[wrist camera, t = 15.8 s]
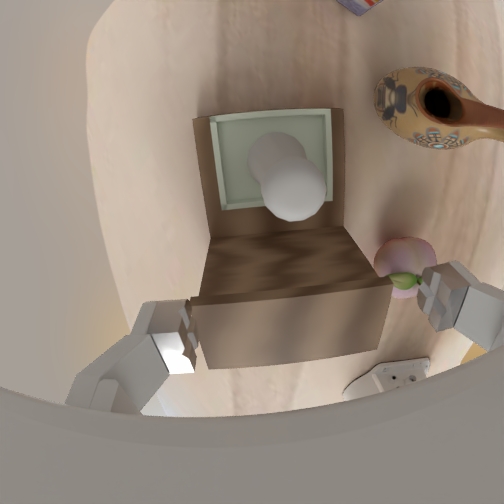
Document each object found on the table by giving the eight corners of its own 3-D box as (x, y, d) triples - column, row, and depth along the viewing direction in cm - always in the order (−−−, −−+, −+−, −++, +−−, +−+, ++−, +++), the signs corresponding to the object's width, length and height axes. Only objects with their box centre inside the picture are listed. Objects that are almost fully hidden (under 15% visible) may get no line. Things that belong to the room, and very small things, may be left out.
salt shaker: (235, 155, 28) (229, 192, 17) (275, 118, 27) (300, 128, 15) (273, 193, 31) (292, 252, 19) (312, 159, 29) (357, 197, 17)
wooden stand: (338, 108, 29) (411, 117, 15) (336, 265, 40) (376, 349, 25) (193, 118, 29) (149, 131, 15) (218, 276, 40) (208, 369, 26)
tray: (325, 108, 26) (330, 108, 25) (328, 195, 31) (332, 200, 30) (211, 116, 27) (209, 116, 25) (222, 204, 32) (221, 210, 30)
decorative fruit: (360, 277, 41) (385, 321, 32) (363, 228, 37) (395, 267, 28) (411, 268, 40) (442, 307, 32) (418, 221, 36) (456, 255, 28)
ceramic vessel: (447, 86, 26) (600, 119, 5) (443, 146, 31) (587, 220, 9) (340, 59, 26) (507, 18, 4) (339, 130, 30) (501, 202, 9)
